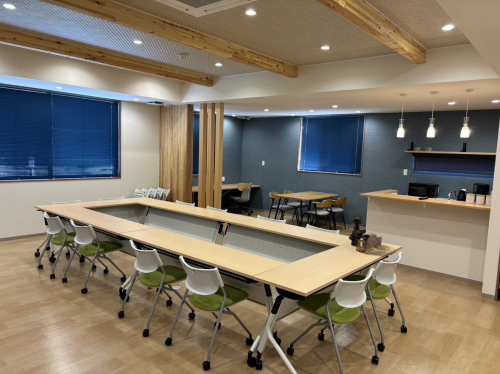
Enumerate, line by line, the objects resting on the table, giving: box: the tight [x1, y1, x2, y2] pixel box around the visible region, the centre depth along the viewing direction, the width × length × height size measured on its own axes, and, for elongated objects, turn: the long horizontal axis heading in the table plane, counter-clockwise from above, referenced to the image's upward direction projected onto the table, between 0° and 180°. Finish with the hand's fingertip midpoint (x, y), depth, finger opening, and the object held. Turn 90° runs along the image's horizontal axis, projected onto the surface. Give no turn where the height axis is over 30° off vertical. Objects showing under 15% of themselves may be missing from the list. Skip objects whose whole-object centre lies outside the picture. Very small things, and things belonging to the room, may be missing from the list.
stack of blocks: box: [362, 232, 383, 248], centre depth 348 cm, size 21×6×12 cm, turn 123°
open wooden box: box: [355, 239, 367, 253], centre depth 322 cm, size 6×6×11 cm
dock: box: [363, 246, 374, 252], centre depth 331 cm, size 9×12×2 cm
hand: (361, 245), depth 321 cm, fingers open, 9 cm apart
